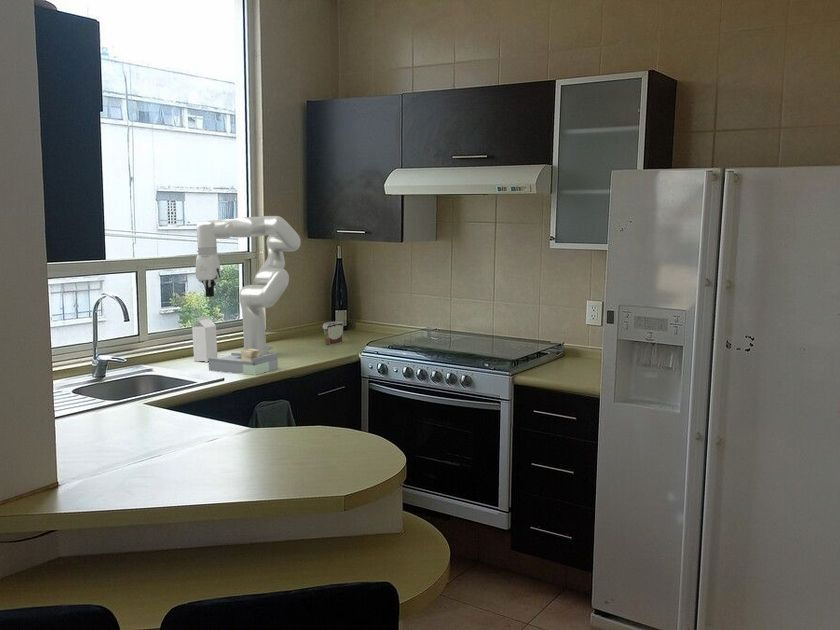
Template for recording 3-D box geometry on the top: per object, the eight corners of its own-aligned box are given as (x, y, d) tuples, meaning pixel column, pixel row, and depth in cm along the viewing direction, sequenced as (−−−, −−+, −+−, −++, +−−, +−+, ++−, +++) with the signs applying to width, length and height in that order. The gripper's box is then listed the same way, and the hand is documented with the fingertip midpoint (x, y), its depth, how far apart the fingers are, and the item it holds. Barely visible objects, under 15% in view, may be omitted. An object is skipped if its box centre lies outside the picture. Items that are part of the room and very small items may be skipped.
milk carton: (217, 359, 350) (215, 316, 347) (207, 362, 344) (204, 318, 341) (204, 358, 353) (202, 315, 350) (193, 361, 346) (191, 317, 344)
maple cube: (250, 361, 323) (250, 348, 322) (259, 362, 320) (259, 350, 319) (241, 363, 319) (241, 350, 318) (250, 364, 316) (250, 352, 315)
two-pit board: (232, 364, 338) (231, 349, 337) (277, 368, 327) (277, 352, 326) (209, 370, 326) (208, 354, 325) (255, 375, 315) (254, 358, 314)
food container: (335, 341, 393) (334, 320, 392) (344, 342, 390) (343, 321, 388) (317, 344, 383) (316, 324, 382) (327, 345, 380) (326, 324, 378)
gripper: (187, 252, 330) (189, 296, 332) (214, 252, 322) (217, 298, 325) (200, 251, 336) (202, 295, 339) (227, 251, 329) (230, 296, 331)
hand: (209, 296), depth 332 cm, fingers closed
